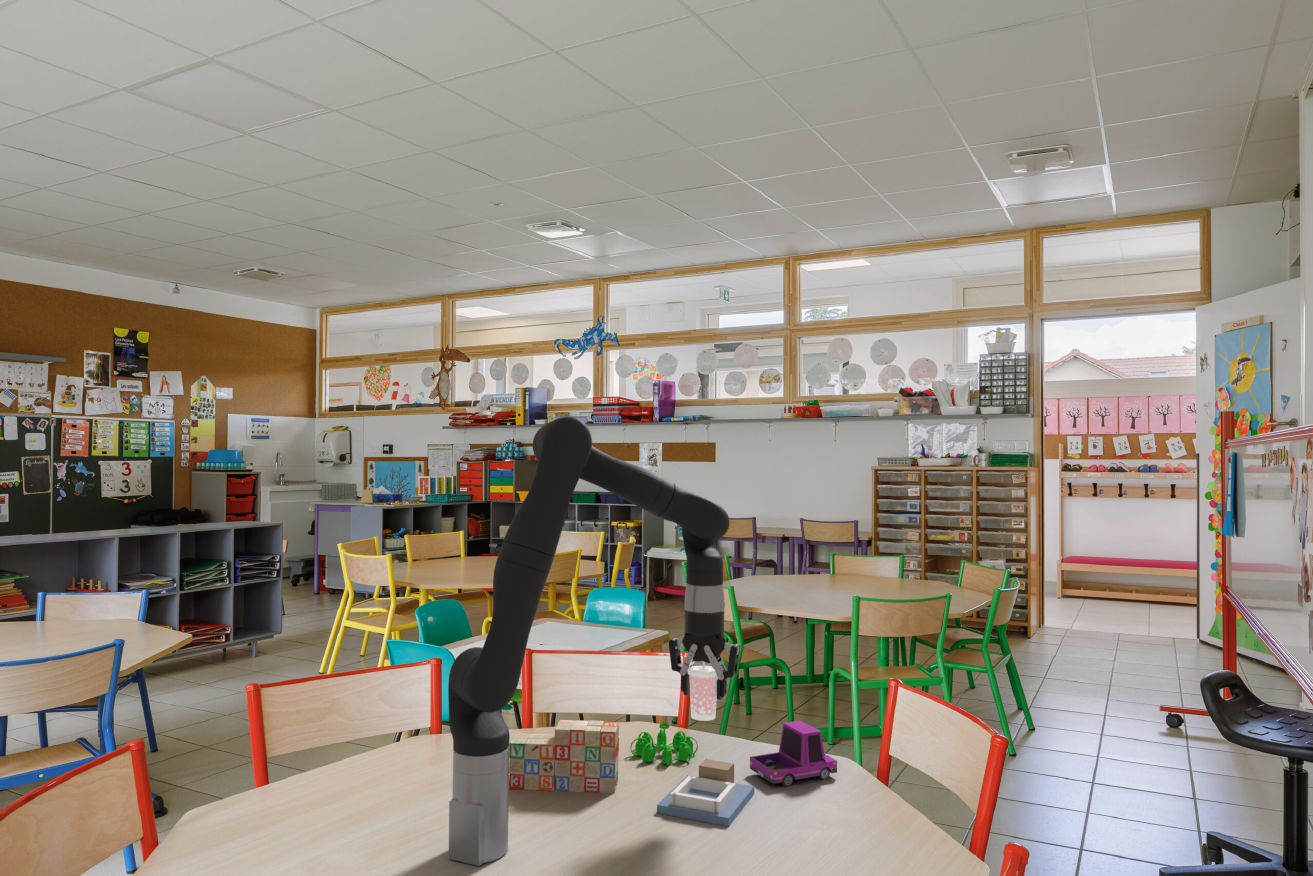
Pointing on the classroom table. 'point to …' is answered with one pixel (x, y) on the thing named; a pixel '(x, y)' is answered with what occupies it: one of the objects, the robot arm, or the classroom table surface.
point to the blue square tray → (708, 795)
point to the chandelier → (664, 746)
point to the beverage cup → (703, 692)
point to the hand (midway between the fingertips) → (703, 696)
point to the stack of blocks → (567, 758)
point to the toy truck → (795, 756)
